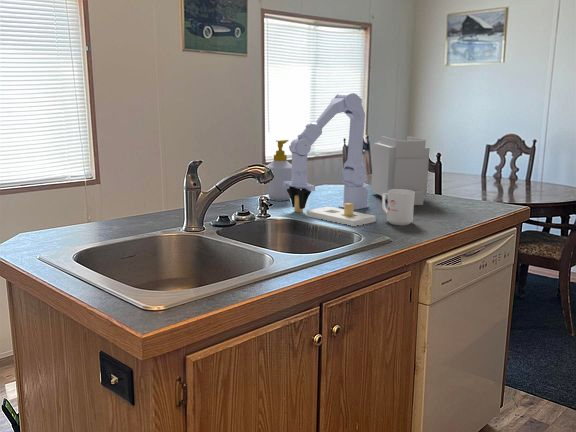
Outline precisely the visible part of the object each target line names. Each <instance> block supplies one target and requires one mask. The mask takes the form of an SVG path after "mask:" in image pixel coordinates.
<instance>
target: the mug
mask: <svg viewBox="0 0 576 432" xmlns="http://www.w3.org/2000/svg"><path fill="white" fill-rule="evenodd" d="M386 194H388V201H387V206H386V199H385V195H386ZM414 195H415V192H414V191H411V190H405V189H392V190H389V191H388V193H382V197H381V202H382V203H381V207H382V210H383V211H384V212H385V214H386V220H387V222H388V223H389V224H391V225H394V226H395V225H396V226H409V225H410V224H411V223H412V222H413V220H414V211H415V210H414V207H415V205H414Z"/></svg>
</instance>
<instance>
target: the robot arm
mask: <svg viewBox="0 0 576 432" xmlns="http://www.w3.org/2000/svg"><path fill="white" fill-rule="evenodd" d="M362 103H363V99H362V98H361V96H359V95H358V94H357V93H354V92H351V93H348V92H347V93H343V92H340V93H337V94H336V95H335V96H334V98H332V99H331V100H330V102H329V105H327V107H326V108H325V109H324V111H323V112H322V113H321V114H320V116H319V117H318V118H317V120H316V121H315V122H310V123H309V124H306V125H305V129H304V130H302V132H301V133H300V134H298V135H297V138H294V139H293V140H292V141H291V142H290V145H289V147H288V149H289V151H290V154H291V165H292V181H284V187H289V189H287V192H288V194H289V196H290V202H291V205H292V208H294V206H295V195H298V196H299V207H300V209H303V210H304V209H305V208H306V205H307V202H308V199H309V197H310V195H311V193H312V192H315V191H316V185H314V184H311V183H308V154H309V153H310V152H311V150H312V149H311V148H312V146H313V145H314V143H315V142H316V141H317V139H318V138H320V136H321V135H322V134H323V128H324V127H325V126H326V125H327V124H328V123H329V122H330V121H331V120H332V119H333V118H334V117H335V116H336V115H338V114H342V113H344V115H346V116H347V117H348V118H349V130H348V131H349V133H348V134H349V135H348V144H347V145H348V146H347V147H348V148H347V159H346V161H345V162H344V163H343V168H342V171H341V173H340V176H341V180H342V181H343V204H342V205H338V208H340V209H344V204H345V203H353V204H354V207H353V211H356V210H360V209H367V208H369V205H368V193H369V191H368V188H367V186H366V185H364V184H365V183H366V181H367V178H368V177H367V172H366V165H365V164H364V162H363V149H364V133H365V122H366V121H365V120H366V119H365V118H366V113H365V110H364V107H363V104H362Z"/></svg>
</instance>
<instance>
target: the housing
mask: <svg viewBox="0 0 576 432" xmlns="http://www.w3.org/2000/svg"><path fill="white" fill-rule="evenodd" d="M305 215H306V217H309V218H314V219H317V220H321V219H323V220H322V221H326V220H327V221H326V222H330V221H332V222H331V223H335V222H337V223H336V224H339V223H342V224H341V225H343V224H347V225H346V226H348V225H351V226H350V227H352V226H355V227H358V226H357V225H359V226H364V225H367V224H372V223H375V222H376V220H377V216H376V215H372V214H367V213H363V212H358V211H353V217H347V216H344V208H340V207H338V208H337V207H332V206H324V207H323V206H322V207H319V208H313V209H309V210H308V209H307V210H306V214H305ZM363 224H364V225H363Z"/></svg>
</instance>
